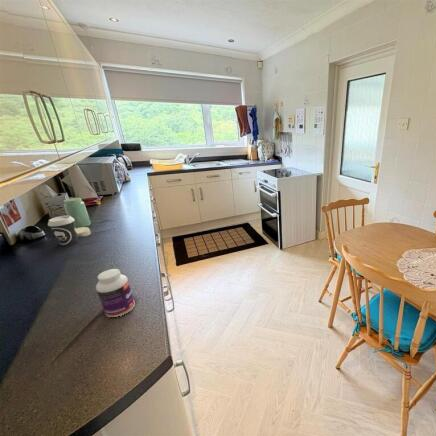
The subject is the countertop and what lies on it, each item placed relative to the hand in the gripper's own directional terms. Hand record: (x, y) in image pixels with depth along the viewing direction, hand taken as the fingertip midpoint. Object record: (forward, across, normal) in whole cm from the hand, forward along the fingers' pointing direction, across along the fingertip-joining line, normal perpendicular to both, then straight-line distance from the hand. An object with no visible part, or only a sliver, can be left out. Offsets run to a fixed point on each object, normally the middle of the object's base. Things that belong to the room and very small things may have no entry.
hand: (52, 170), depth 131 cm
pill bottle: (+33, -36, +102) cm, 113 cm away
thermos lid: (+30, -9, +24) cm, 40 cm away
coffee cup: (+33, -8, +37) cm, 50 cm away
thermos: (+33, -6, +6) cm, 34 cm away
